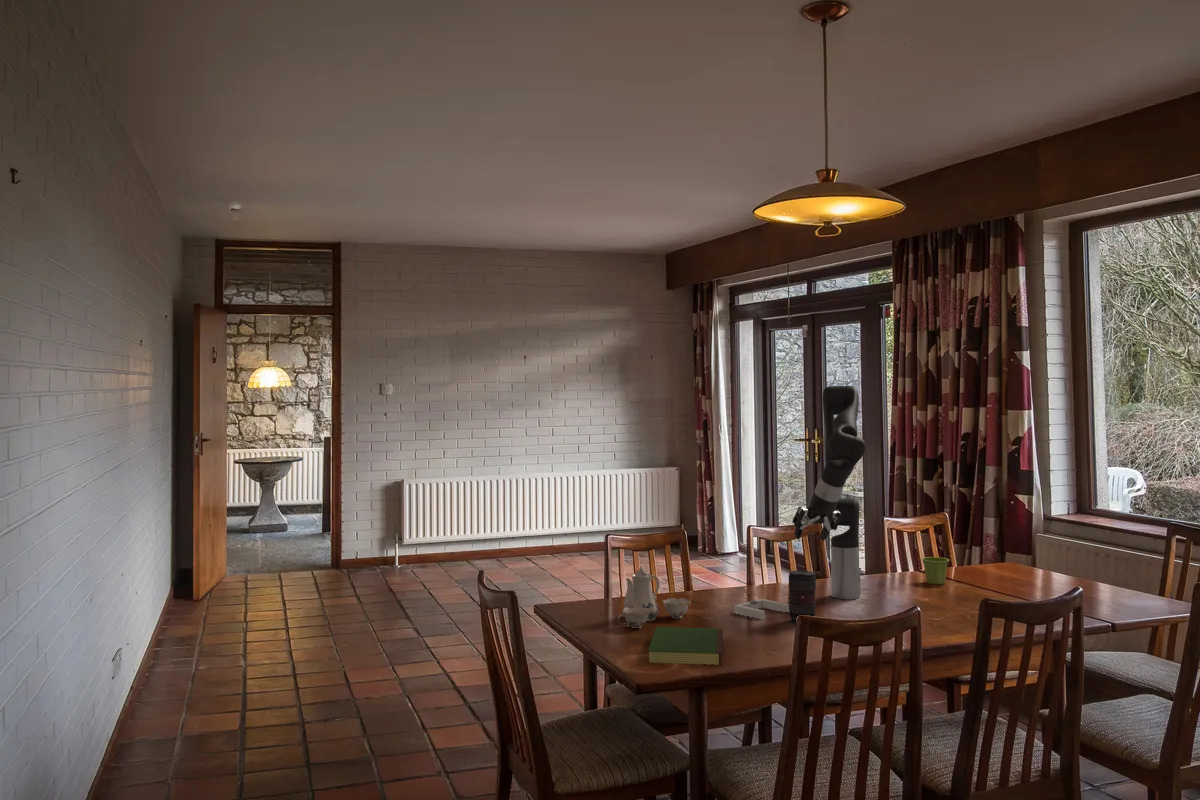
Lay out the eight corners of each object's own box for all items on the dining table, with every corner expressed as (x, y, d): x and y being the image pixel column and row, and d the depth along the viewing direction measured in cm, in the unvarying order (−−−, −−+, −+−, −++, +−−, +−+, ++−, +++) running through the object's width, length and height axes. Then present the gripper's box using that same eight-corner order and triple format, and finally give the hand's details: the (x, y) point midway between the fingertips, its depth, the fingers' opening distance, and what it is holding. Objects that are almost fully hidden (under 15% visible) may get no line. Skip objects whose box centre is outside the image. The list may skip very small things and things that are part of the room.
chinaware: (638, 639, 270) (642, 583, 269) (596, 624, 281) (600, 570, 280) (696, 621, 291) (700, 569, 289) (655, 607, 302) (659, 557, 300)
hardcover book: (721, 667, 238) (720, 652, 238) (648, 664, 241) (647, 650, 241) (722, 641, 263) (722, 627, 263) (656, 639, 266) (656, 626, 266)
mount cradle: (761, 606, 302) (761, 596, 302) (789, 612, 294) (789, 602, 294) (734, 613, 293) (734, 603, 293) (761, 619, 285) (761, 609, 285)
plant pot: (916, 581, 338) (916, 557, 338) (939, 579, 341) (939, 556, 341) (931, 586, 329) (931, 562, 329) (954, 584, 332) (954, 560, 332)
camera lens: (816, 625, 277) (816, 575, 277) (788, 624, 279) (788, 574, 278) (815, 618, 285) (815, 570, 285) (788, 617, 286) (788, 569, 286)
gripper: (842, 488, 281) (824, 532, 288) (800, 485, 277) (783, 529, 284) (853, 502, 275) (835, 547, 281) (811, 499, 270) (793, 544, 277)
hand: (809, 538), depth 283 cm, fingers open, 8 cm apart
